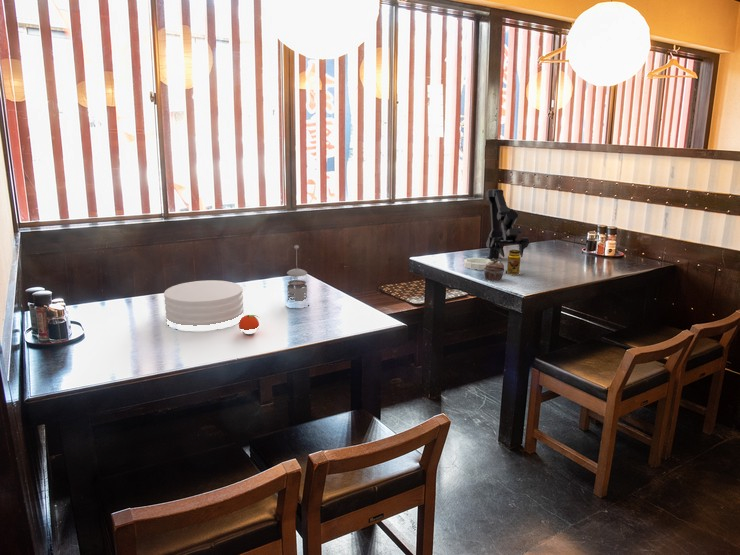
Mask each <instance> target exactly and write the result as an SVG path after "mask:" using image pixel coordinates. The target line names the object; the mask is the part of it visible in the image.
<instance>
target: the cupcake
mask: <svg viewBox="0 0 740 555" xmlns="http://www.w3.org/2000/svg"><path fill="white" fill-rule="evenodd" d="M483 271H484V279H485V278H486V280H487V279H488V280H487V281H494V280H497V281H501V280H502V279H503V277H504V276H503V275H504V273H503V272H504V271H505V265H504V263H503V262H502V259H501V258H500V259H494V258H493V259H490V262H489V263H487V264H486V267H485V268H484V270H483Z"/></svg>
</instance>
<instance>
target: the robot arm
mask: <svg viewBox="0 0 740 555" xmlns="http://www.w3.org/2000/svg"><path fill="white" fill-rule="evenodd" d="M485 198H486V202H487V204H488V205H489V210H490V211H489V212H490V226H491V227H490V229H491V230H490V233H489V235H488V238H487V240H486V243H485V244H486V245H485V246H486V247H487V248H488V249H489V250H488V256H487V257H486V259H490V260H491V259H493V258H494V259H495V260H496V259H501V258H502V257H503V258H505V257H506V256H505V250H504V246H505V245H517V246H518V247H519V248H518V250H519V251H520V258H523V255H524V251H525V249H526V248H528V246H529V244H530V242H531V241H530V238H529V237H520V239H518V236H519V235H522V232H523V231H522V227H517V228H514V225H515V224H516V222H517V220H518V217H519V215H518V213H517V212H516V211H515V210H514V209H513V208H510V207H508V204H507V202H506V199H505V196H504V189H494V188H491V189H489V188H488V190H487V191H486V192H485ZM500 222H501V223H500ZM517 239H518V240H517ZM500 255H501V256H502V257H501V256H500Z"/></svg>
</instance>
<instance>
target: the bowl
mask: <svg viewBox="0 0 740 555" xmlns="http://www.w3.org/2000/svg"><path fill="white" fill-rule="evenodd" d="M490 260H491V259H488V258H487V257H485V258H484V257H468V258H465V259H464V260H463V266H464V268H467V269H469V268H470V269H469V270H474V269H477V270H476V271H484V268H485V267H486V264H487V263H489V262H490Z"/></svg>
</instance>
